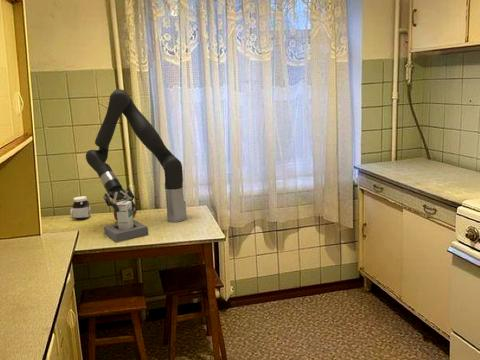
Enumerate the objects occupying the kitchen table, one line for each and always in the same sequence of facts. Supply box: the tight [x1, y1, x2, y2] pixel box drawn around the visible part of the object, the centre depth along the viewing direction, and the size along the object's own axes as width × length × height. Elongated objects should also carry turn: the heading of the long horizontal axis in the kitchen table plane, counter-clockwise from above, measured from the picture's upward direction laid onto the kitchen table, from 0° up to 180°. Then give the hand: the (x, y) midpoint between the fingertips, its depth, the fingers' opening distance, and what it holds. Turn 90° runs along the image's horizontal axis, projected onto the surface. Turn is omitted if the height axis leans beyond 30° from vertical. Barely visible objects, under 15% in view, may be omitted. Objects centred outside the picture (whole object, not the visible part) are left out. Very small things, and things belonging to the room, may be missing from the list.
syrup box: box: [116, 200, 135, 231], centre depth 243 cm, size 6×6×14 cm
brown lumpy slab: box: [113, 204, 138, 222], centre depth 269 cm, size 15×3×8 cm, turn 148°
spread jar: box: [70, 195, 92, 221], centre depth 276 cm, size 12×11×12 cm
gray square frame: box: [103, 219, 149, 243], centre depth 244 cm, size 16×16×4 cm
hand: (125, 209), depth 241 cm, fingers closed on syrup box, 8 cm apart
